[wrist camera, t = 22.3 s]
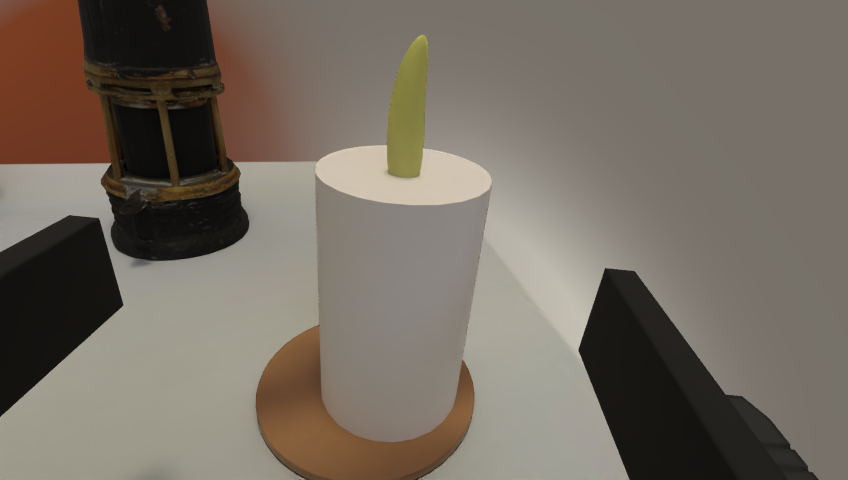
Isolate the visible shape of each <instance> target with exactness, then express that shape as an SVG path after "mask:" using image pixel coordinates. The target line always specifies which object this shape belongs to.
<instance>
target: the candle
mask: <svg viewBox="0 0 848 480" xmlns="http://www.w3.org/2000/svg"><path fill="white" fill-rule="evenodd" d="M427 67H428V45H427V39H426V37H425V35H421V36H419V37H418V38H417V39H416V40H414V42H413V43H412V44H411V46H410V47H409V49H408V51H407V53H406V55H405V56H404V58H403V61H402V63H401V66H400V68H399V71H398V74H397V77H396V80H395V85H394V88H393V92H392V98H391V103H390V110H389V118H388V131H387V146H386V145H385V146H383V145H378V146H363V147H355V148H349V149H343V150H340V151H337V152H333V153H330V154H329V155H327V156H325V157H323V158H321V159H320V160H319V161H318V163H317V164H316V165H315V187H316V223H317V258H318V293H319V329H320V364H321V392H322V401H323V403H324V405H325V408H326V410H327V412H328V414H329V415H330V416H331V417H332V418H333V419H334V421H335V422H336V423H337V424H338V425H339V426H341V427H342V428H344V429H345V430H347V431H349V432H350V433H352V434H353V435H356V436H359V437H362V438H365V439H368V440H372V441H380V442H399V441H405V440H412V439H415V438H417V437H420V436H422V435H424V434H427V433H429V432H431V431H432V430H433V429H435V428H436V427H437V426H438V425H440V424H441V423H442V422H444V420H445V419H446V417H447V416H448V414H449V413H450V412H451V410H452V408H453V405H454V401H455V398H456V393H457V387H458V381H459V375H460V370H461V364H462V358H463V352H464V346H465V340H466V334H467V328H468V322H469V317H470V311H471V305H472V299H473V293H474V287H475V281H476V275H477V269H478V264H479V258H480V252H481V246H482V240H483V234H484V228H485V222H486V216H487V210H488V205H489V199H490V193H491V187H492V180H491V177H490V174H489V173H488V172H487V171H485V170H484V169H483V168H482V167H481V166H479V165H477V164H475V163H473V162H472V161H470V160H467V159H464V158H461V157H459V156H456V155H453V154H449V153H445V152H441V151H436V150H430V149H424V148H423V147H424V128H425V97H426V82H427Z"/></svg>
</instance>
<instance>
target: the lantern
mask: <svg viewBox="0 0 848 480" xmlns="http://www.w3.org/2000/svg"><path fill="white" fill-rule="evenodd" d="M78 5H79V11H80V18H81V25H82V32H83V39H84V67H83V68H84V73H85V76H86V77H87V78H88V80H87V81H86V83H87V86H88V89H89V90H91V91H93V92H95V93H98V94H99V95H100V100H101V105H102V112H103V117H104V123H105V129H106V134H107V139H108V145H109V151H110V156H111V162H112V164H111V165H110V166H109V168H108V169H107V171H106V172H105V174H104V176H103V177H102V179H101V184H102V186H103V187H104V189H105V190H106V193H107V195H108V196H109V201H110V203H111V205H112V212H113V214H114V219H115V221H114V223H113V225H112V227H111V237H112V240H113V242H114V244H115V246H116V248H117V249H118V250H119V251H121V252H123V253H126V254H128V255H130V256H132V257H135V258H143V259H153V260H170V259H183V258H190V257H195V256H200V255H205V254H209V253H212V252H215V251H217V250H220V249H222V248H225V247H228V246H230V245H232V244H233V243H235V242H236V241H238V240H239V239H241V238H242V237H243V236H244V235H245V233H246V232H247V230H248V226H249V220H248V215H247V213H246V211H245V210H244V209H243V207H242V206H241V193H240V192H239V186H238V185H239V177H240V174H241V173H240V170H239V169H238V168H237V167H236V165H235V164H234V163H233V162H232V160H230V159H229V158H227V157H226V150H225V144H224V138H223V132H222V126H221V122H220V116H219V110H218V104H217V98H216V95H218V94H221V93H223V91H224V84H223V83H221V82H220V80H221V72H220V69H219V66H218V63H217V62H216V58H215V52H214V46H213V40H212V33H211V27H210V20H209V14H208V7H207V1H206V0H78Z"/></svg>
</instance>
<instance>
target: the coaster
mask: <svg viewBox="0 0 848 480" xmlns="http://www.w3.org/2000/svg"><path fill="white" fill-rule="evenodd" d="M473 407H474V388H473V382H472V379H471V376H470V373H469V370H468V368H467V366H466V364H465V363H464V361H463V360H462V364H461V370H460V375H459V381H458V387H457V393H456V398H455V401H454V405H453V408H452V410H451V412H450V413H449V414H448V416H447V417H446V419H445V420H444V422H442V423H441V424H440V425H438V426H437V427H436V428H435V429H433V430H432V431H431V432H429V433H427V434H424V435H422V436H420V437H417V438H415V439H412V440H405V441H399V442H380V441H372V440H368V439H365V438H362V437H359V436H356V435H353V434H352V433H350V432H349V431H347V430H345V429H344V428H342V427H341V426H339V425H338V424H337V423H336V422H335V421H334V419H333V418H332V417H331V416H330V415H329V414H328V412H327V410H326V408H325V405H324V403H323V401H322V392H321V364H320V329H319V325H318V326H315V327H313V328H311V329H309V330H307V331H305V332H303V333H301V334H299V335H298V336H296V337H295V338H293V339H292V340H291V341H289V342H288V343H287V344H285V345H284V346H283V347H282V348H281V349H280V350H279V351H278V352H277V353H276V354H275V355H274V357H273V358H272V359H271V360H270V362H269V363H268V365H267V367H266V368H265V370H264V372H263V374H262V376H261V379H260V381H259V385H258V389H257V393H256V411H257V418H258V424H259V427H260V430H261V434H262V436H263V438H264V440H265V442H266V443H267V445H268V447H269V448H270V449H271V451H272V452H273V453H274V454H275V456H276V457H277V458H278V459H279V460H280V461H282V462H283V463H284V464H285V465H286V466H287V467H288V468H290V469H291V470H293V471H294V472H296V473H298V474H299V475H301V476H303V477H305V478H307V479H309V480H415V479H417V478H419V477H421V476H423V475H424V474H426V473H428V472H430V471H431V470H433V469H434V468H436V467H437V466H439V465H440V464H441V463H443V462H444V461H445V460H446V459H447V458H448V457H449V456H450V455H451V454H452V453H453V452H454V451H455V449H456V448H457V447H458V445H459V444H460V443H461V441H462V440H463V438H464V436H465V434H466V432H467V430H468V427H469V424H470V422H471V418H472V413H473Z"/></svg>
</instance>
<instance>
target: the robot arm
mask: <svg viewBox="0 0 848 480" xmlns="http://www.w3.org/2000/svg"><path fill="white" fill-rule="evenodd" d="M122 306H123V302H122V298H121V295H120V291H119V287H118V284H117V280H116V277H115V273H114V270H113V266H112V263H111V259H110V256H109V252H108V248H107V245H106V241H105V238H104V234H103V231H102V227H101V224H100V220H99V218H91V217H81V216H71V215H69V216H67V217H65V218H63V219H62V220H60V221H58V222H56V223H54V224H52V225H50V226H49V227H47V228H45V229H43V230H41V231H39V232H37V233H35V234H34V235H32V236H30V237H28V238H26V239H24V240H22V241H20V242H19V243H17V244H15V245H13V246H11V247H9V248H7V249H5V250H4V251H2V252H0V417H1V416H2V415H3V414H4V413H5V412H6V411H7V410H8V409H9V408H11V407H12V406H13V405H14V404H15V403H16V402H17V401H18V400H19V399H20V398H22V397H23V396H24V395H25V394H26V393H27V392H28V391H29V390H30V389H32V388H33V387H34V386H35V385H36V384H37V383H38V382H39V381H40V380H41V379H43V378H44V377H45V376H46V375H47V374H48V373H49V372H50V371H51V370H53V369H54V368H55V367H56V366H57V365H58V364H59V363H60V362H61V361H62V360H64V359H65V358H66V357H67V356H68V355H69V354H70V353H71V352H72V351H74V350H75V349H76V348H77V347H78V346H79V345H80V344H81V343H82V342H83V341H85V340H86V339H87V338H88V337H89V336H90V335H91V334H92V333H93V332H95V331H96V330H97V329H98V328H99V327H100V326H101V325H102V324H103V323H105V322H106V321H107V320H108V319H109V318H110V317H111V316H112V315H113V314H114V313H116V312H117V311H118V310H119V309H120V308H121V307H122ZM579 353H580V355H581V358H582V361H583V363H584V366H585V368H586V371H587V373H588V376H589V378H590V381H591V383H592V386H593V388H594V391H595V393H596V396H597V398H598V401H599V403H600V406H601V409H602V411H603V414H604V416H605V419H606V421H607V424H608V426H609V429H610V431H611V434H612V436H613V439H614V441H615V444H616V446H617V449H618V451H619V454H620V457H621V459H622V462H623V464H624V467H625V469H626V472H627V474H628V477H629V479H630V480H818V479H817V477H816V476H815V475H814V474H813V472H809V471H808V466H807V465H806V464H805V463H804V461H803V460H802V459H801V457H800V456H799V455H798V454H797V452H796V451H795V450H791V448H790V444H789V442H788V441H787V440H786V439H785V438H784V436H783V435H782V434H781V432H780V431H779V430H778V429H777V428H776V426H775V425H774V424H773V422H772V421H771V420H770V419H769V418H768V417H767V416H766V415H764V414H763V413H762V412H761V411H759V410H758V409H757V408H755V407H754V406H753V405H752V404H751V403H750V402H748V401H747V400H746V399H745V398H743V397H742V396H733V395H725V393H724V392H723V391H722V389H721V388H720V386H719V385H718V384H717V382H716V381H715V380H714V378H713V377H712V376H711V374H710V373H709V372H708V371H707V369H706V367H705V366H704V365H703V363H702V362H701V361H700V359H699V358H698V357H697V355H696V354H695V352H694V351H693V350H692V348H691V347H690V346H689V344H688V343H687V342H686V340H685V339H684V338H683V336H682V335H681V333H680V332H679V331H678V329H677V328H676V327H675V325H674V324H673V323H672V322H671V320H670V319H669V317H668V316H667V315H666V313H665V312H664V311H663V309H662V308H661V306H660V305H659V304H658V302H657V301H656V300H655V298H654V297H653V295H652V294H651V293H650V291H649V290H648V289H647V287H646V286H645V285H644V283H643V282H642V281H641V279H640V278H639V276H638V275H637V274H636V272H635V271H627V270H617V269H606V268H605V270H604V274H603V277H602V280H601V283H600V286H599V289H598V292H597V295H596V298H595V301H594V304H593V307H592V310H591V313H590V316H589V319H588V323H587V325H586V328H585V331H584V335H583V337H582V341H581V344H580V347H579Z"/></svg>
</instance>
